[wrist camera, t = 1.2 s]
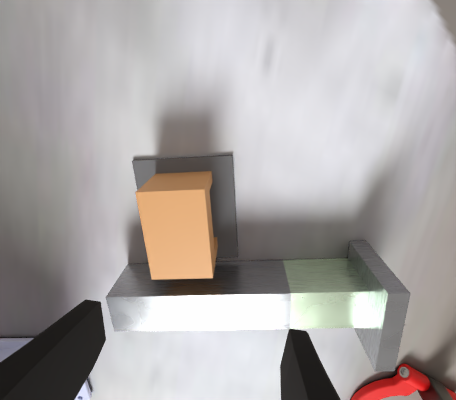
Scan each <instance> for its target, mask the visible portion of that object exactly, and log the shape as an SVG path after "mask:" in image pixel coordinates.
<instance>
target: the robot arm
mask: <svg viewBox="0 0 456 400" xmlns="http://www.w3.org/2000/svg"><path fill="white" fill-rule="evenodd" d="M105 340H106V337H105V330H104V323H103V316H102V308H101V302H98V301H91V300H84V301H83V302H82V303H80V304H79V305H78V306H76V307H75V308H74V309H72V310H71V311H70V312H68V313H67V314H66V315H64V316H63V317H62V318H60V319H59V320H58V321H57V322H55V323H54V324H53V325H51V326H50V327H49V328H47V329H46V330H45V331H43V332H42V333H41V334H39V335H38V336H36V337H35V338H0V400H90V398H91V396H92V394H91V391H90V388H89V385H88V382H87V378H88V376H89V374H90V372H91V371H92V369H93V367H94V365H95V363H96V361H97V358H98V356H99V354H100V352H101V350H102V347H103V345H104V343H105ZM280 370H281V400H340V398H339V396H338V394H337V392H336V390H335V388H334V387H333V385H332V383H331V381H330V379H329V377H328V375H327V373H326V371H325V369H324V367H323V365H322V363H321V361H320V359H319V357H318V355H317V353H316V350H315V348H314V346H313V344H312V341H311V339H310V337H309V334H308V333H307V332H306V331H302V330H295V329H289V332H288V336H287V340H286V344H285V349H284V353H283V357H282V361H281V366H280Z"/></svg>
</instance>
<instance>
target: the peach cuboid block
mask: <svg viewBox="0 0 456 400" xmlns="http://www.w3.org/2000/svg"><path fill="white" fill-rule="evenodd" d="M211 185H212V171H203V172H182V173H161V174H155V175H154V176H152V177H151V178H150V179H149V180H148V181H147V182H146V183H145V184H144V185H143V186H142V187H141V188H140V189H138V190H137V191H136V192H135V193H136V198H137V204H138V209H139V214H140V220H141V225H142V230H143V236H144V241H145V246H146V252H147V257H148V262H149V268H150V273H151V279H152V280H158V279H200V278H213V275H214V268H215V262H216V255H217V249H218V242H217V237H213V225H212V214H211V203H210V192H209V191H210V188H211Z"/></svg>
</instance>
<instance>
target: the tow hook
mask: <svg viewBox="0 0 456 400" xmlns="http://www.w3.org/2000/svg"><path fill="white" fill-rule="evenodd" d="M416 390H418V392H419V394H420V396H421V398H422V400H456V393H454V392H453V391H451V390H449V389H448V388H446V387H445V386H444V385H443V384H441V383H440V382H438V381H436V380H435V379H433V378H431V377H429V376H428V375H426V374H422V373H420V372H419V371H417V370H415V369H414V368H412V367H410V366H409V365H407V364H401V365H400V366H399V367H398V370H397V375H395V376H394V377H392V378H387V379H382V380H378V381H374V382H372V383H370V384H368V385H366V386H364V387H362V388H361V389H360V390H358V391H357V392H356V393H355V394H354V395H353V397H352V398H351V400H380V399H382V398H386V397H390V396H398V395H402V396H407V395H410V394H412V393H413V392H415V391H416Z"/></svg>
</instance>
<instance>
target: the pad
mask: <svg viewBox="0 0 456 400" xmlns="http://www.w3.org/2000/svg"><path fill="white" fill-rule="evenodd" d="M132 163H133V169H134V174H135V180H136V185H137V190H138V189H140V188H141V187H142V186H143V185H144V184H145V183H146V182H147V181H148V180H149V179H150V178H151V177H152V176H154V175H155V174H161V173H182V172H203V171H212V185H211V188H210V191H209V192H210V203H211V214H212V225H213V237H217V242H218V249H217V255H216V258H223V257H238V248H237V230H236V212H235V195H234V177H233V159H232V155H227V156H207V157H188V158H168V159H149V160H133V161H132Z"/></svg>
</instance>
